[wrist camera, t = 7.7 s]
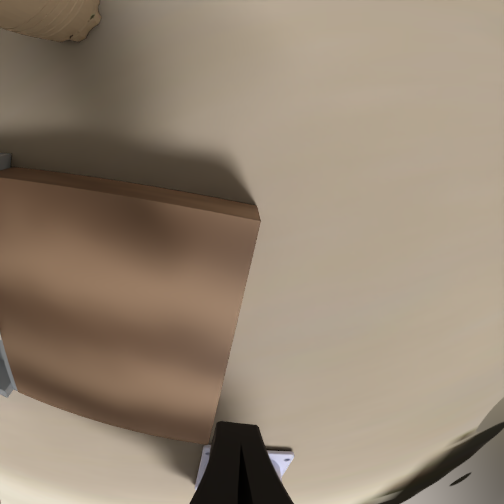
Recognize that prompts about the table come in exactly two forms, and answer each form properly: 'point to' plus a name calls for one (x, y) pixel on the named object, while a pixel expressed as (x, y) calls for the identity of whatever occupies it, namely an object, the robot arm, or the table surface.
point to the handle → (50, 18)
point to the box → (3, 379)
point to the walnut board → (121, 297)
